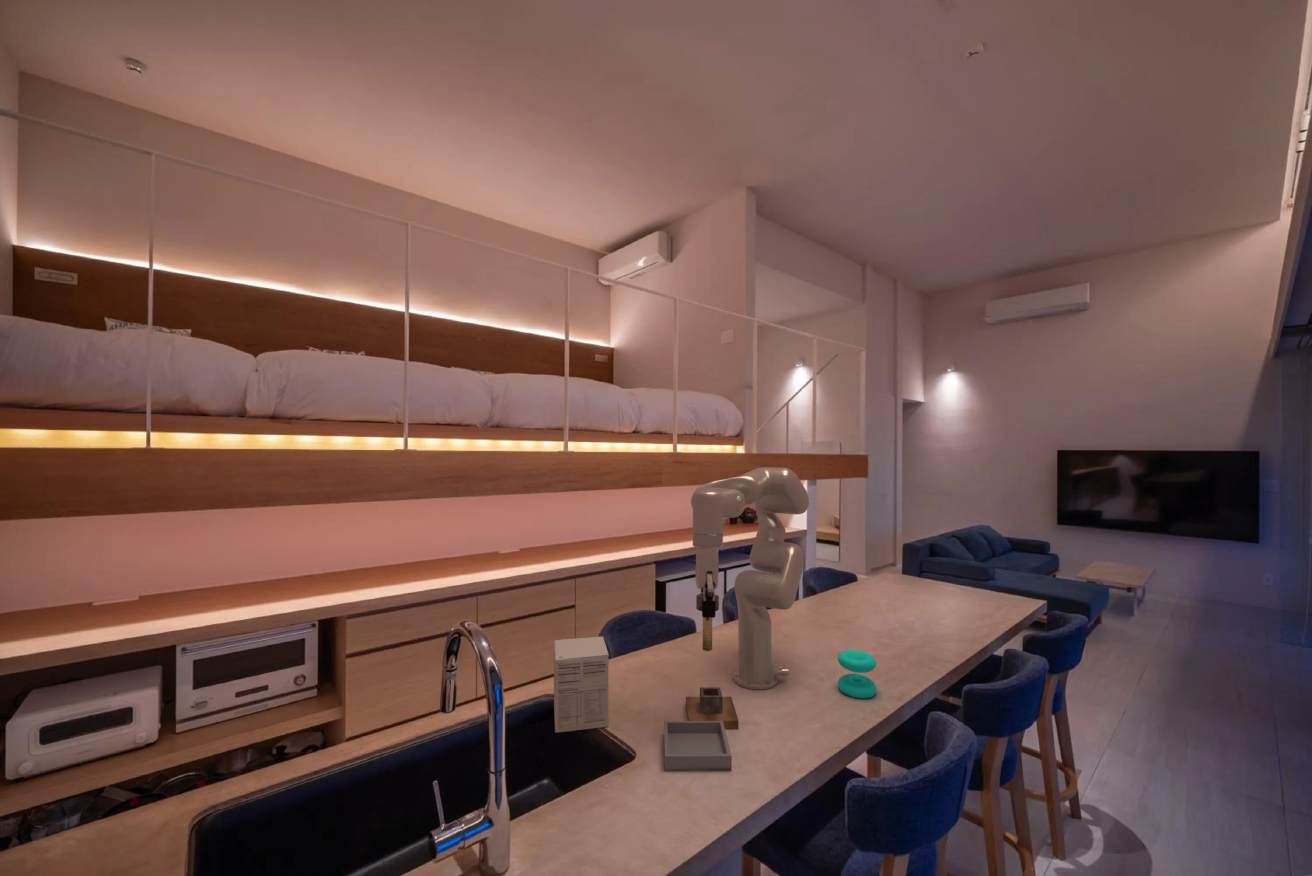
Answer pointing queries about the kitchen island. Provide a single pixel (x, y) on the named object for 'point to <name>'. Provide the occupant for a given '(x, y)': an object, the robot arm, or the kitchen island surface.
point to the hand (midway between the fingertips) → (707, 612)
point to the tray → (696, 746)
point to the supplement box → (580, 684)
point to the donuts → (854, 682)
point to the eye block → (712, 708)
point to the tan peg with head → (706, 623)
